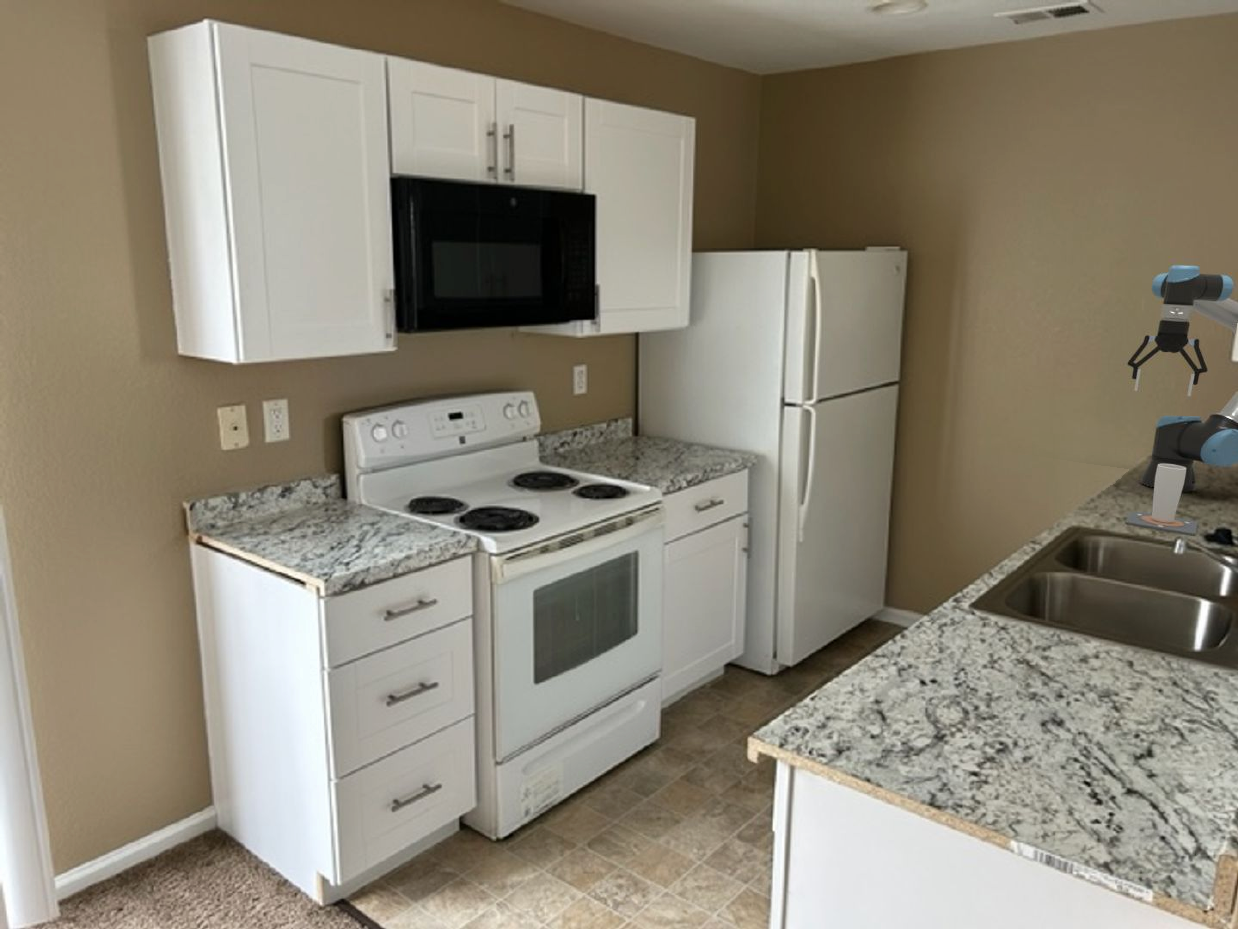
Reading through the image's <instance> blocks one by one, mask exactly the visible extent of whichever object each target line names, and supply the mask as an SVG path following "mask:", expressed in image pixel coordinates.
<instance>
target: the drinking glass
mask: <svg viewBox="0 0 1238 929" xmlns="http://www.w3.org/2000/svg"><path fill="white" fill-rule="evenodd" d="M1185 475H1186V468H1185V467H1183V466H1179V465H1173V464H1158V466H1157V470H1156V475H1155V483H1154V488H1153V498H1152V512H1151V514H1152V515H1151V518H1152V519H1153V520H1155V521H1158V522H1163V523H1172V522H1173V521H1174V518H1176V517H1175V516H1176V513H1177V511H1178V510H1177V509H1178V506H1179V502H1180V498H1181V495H1182V493H1183V492H1182V489H1183V485H1184V481H1185Z"/></svg>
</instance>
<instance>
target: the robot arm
mask: <svg viewBox="0 0 1238 929" xmlns="http://www.w3.org/2000/svg"><path fill="white" fill-rule="evenodd" d="M1234 286H1235V284H1234V281H1233V279H1232V278H1231V277H1230V276H1228V275H1223V274H1218V273H1217V274H1216V273H1215V274H1213V273H1200V267H1199V266H1198V265H1182V264H1181V265H1180V264H1179V265H1178V264H1174V265H1172V266H1170V267H1169V269H1168V272H1167V273H1166V272H1165V273H1159V274H1158V275H1156V276H1155V278H1154V279H1153V281H1152V284H1151V292H1152V294H1153V295H1154V296H1155V297H1156V298H1160V299H1162V300H1163V302H1162V305H1161V313H1160V318H1161V320H1159V323H1158V331H1157V334H1156V336H1153V335H1149V334H1146V335H1145V336H1144V338H1143V342H1142V343H1141V344H1140V346H1139V347H1138V348H1137V350H1136V351H1135V352H1134V354H1132V356H1131V357H1130V359H1129V360H1128V362H1127V366H1129V367H1132V369H1133V370H1132V375H1131V379H1132V380H1135V384H1134V390H1133V391H1134V392H1138V389H1139V388H1138V386H1139V382H1140V376H1141V372H1142V369H1141V368H1139V367H1141V366H1142V365H1143V364H1144V363H1146V362H1147V361H1148V360H1149V359H1151V358H1152V357H1154V355H1156V354H1157V353H1158V352H1160V351H1161V352H1163V353H1172V354H1177V353H1180V354H1181V355H1182V358H1183V359H1184V360H1185V361H1186V363H1187V364H1188V365H1189V366H1190V369H1192V371H1193V372H1191V373H1190V378H1189V379H1190V380H1189V384H1188V390H1187V397H1192V390H1193V386H1197V385H1198V384H1199V377H1200V375H1201V374H1202V373H1207V372H1208V371H1209V370H1208V368H1207V364H1206V362H1205V360H1204V356H1203V353H1202V351H1201V349H1200V339H1199V338H1192V339H1191V338H1188V335H1189V331H1190V330H1189V328H1190V322H1189V320H1191V319H1192V318H1191V317H1192V313H1193V311H1194V312H1196V313H1198V314H1200V315H1202V316H1203V317H1207V318H1208V319H1210V320H1212V321H1214V322H1216V323H1218V324H1220V325H1222V326H1224V327H1225V328H1228V329H1230V330H1231V331H1232V333H1233V334H1234V335H1235V334H1236V327H1237V323H1238V302H1237V301H1236V300H1233V299H1231V298H1230V297H1231V296H1232V294H1233V291H1234ZM1153 341H1154V343H1155V344H1156V345H1157V346H1155V347H1154V348H1153V349H1152V350H1151V351H1150V352H1148V353H1147V354H1146V355H1145V356H1143V357H1142V358H1141V359H1139V360H1138V361H1137V362H1135V361H1136V360H1137V359H1138V358H1139V356H1140V355H1141V353H1142V352H1143V351H1144V349H1145V348H1146V347H1147V346H1148V344H1151V343H1153ZM1188 344H1190V346H1191V347H1193V349H1194V352H1195V354H1196V357H1197V360H1198V363H1199V365H1200V368H1198V366H1197V365H1196V364H1195V362H1194V361H1193V359H1192V358H1191V357H1190V355H1189V354H1188V353H1187V352H1186V350H1185V349H1184V347H1186V346H1187V345H1188ZM1154 434H1155V435H1154V439H1153V446H1152V450H1151V451H1152V453H1151V457H1150V461H1149V463H1148V465H1147V467H1146V468H1145V469H1144V471H1143V474H1142V476H1141V478H1140V484H1141V483H1142V484H1141V485H1143V484H1144V485H1143V486H1145V485H1148V486H1150V487H1149V488H1152V487H1154V483H1155V475H1156V470H1157V466H1158V464H1173V465H1179V466H1183V467H1185V468H1186V475H1185V481H1184V485H1183V489H1182V492H1181V493H1191V492H1190V491H1193V492H1195V491H1196V486H1197V482H1196V476H1195V472H1194V462H1195V461H1196V462H1199V463H1203V464H1207V465H1209V466H1211V467H1212V466H1214V467H1215V466H1216V467H1220V468H1221V467H1222V468H1223V467H1231V466H1233V465H1235V464H1237V463H1238V390H1237V391H1236V392H1235V393H1234V394H1233V395H1232V396H1231V398H1230V399H1229V400H1228V402H1227V403H1226V404H1225V406H1224V407H1223V408H1222V409H1221V411H1220V412H1216V413H1212V414H1210V415H1209V417H1208V418H1207V419H1206V420H1205V421H1204V422H1203V420H1202V417H1201V416H1194V415H1193V416H1192V415H1162V416H1160V417H1159V419H1158V421H1157V425H1156V427H1155V433H1154ZM1148 486H1147V487H1148Z"/></svg>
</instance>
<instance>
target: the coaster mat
mask: <svg viewBox="0 0 1238 929" xmlns="http://www.w3.org/2000/svg"><path fill="white" fill-rule="evenodd" d="M1151 515H1152V513H1149V512H1144V511H1137V510H1131V511H1130V512H1129V514H1128V516H1127V519H1126V520H1125V523H1124V524H1125V525H1129V526H1134V527H1135V526H1136V527H1140V528H1146V529H1152V530H1158V531H1163V532H1164V531H1165V532H1170V533H1175V534H1181V535H1185V536H1193V537H1195V536H1196V533H1197V529H1198V523H1199V521H1198V520H1192V519H1185V518H1179V517H1175V518H1174V521H1173V522H1172V523H1163V522H1158V521H1155V520H1153V519H1152V518H1151Z"/></svg>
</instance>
